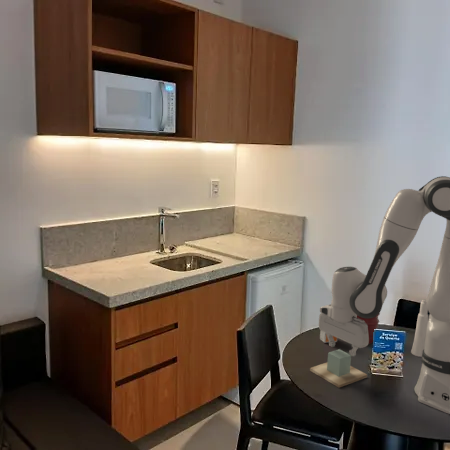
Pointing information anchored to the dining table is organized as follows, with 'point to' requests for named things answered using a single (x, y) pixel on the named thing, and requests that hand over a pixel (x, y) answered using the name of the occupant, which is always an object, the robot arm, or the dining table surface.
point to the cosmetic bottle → (420, 330)
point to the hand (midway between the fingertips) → (342, 350)
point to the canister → (371, 325)
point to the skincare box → (324, 337)
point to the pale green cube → (339, 362)
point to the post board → (334, 379)
